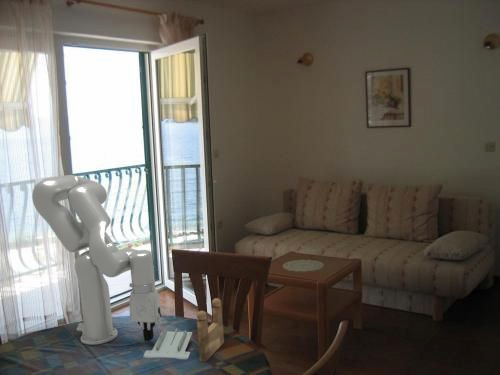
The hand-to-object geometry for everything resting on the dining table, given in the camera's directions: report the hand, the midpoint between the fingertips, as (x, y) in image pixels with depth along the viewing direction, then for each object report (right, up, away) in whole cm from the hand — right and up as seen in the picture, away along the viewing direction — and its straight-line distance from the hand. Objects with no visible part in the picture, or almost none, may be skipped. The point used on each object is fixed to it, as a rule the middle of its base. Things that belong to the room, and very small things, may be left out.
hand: (148, 339), depth 171 cm
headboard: (+22, -1, -8) cm, 24 cm away
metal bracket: (+9, -2, -5) cm, 10 cm away
